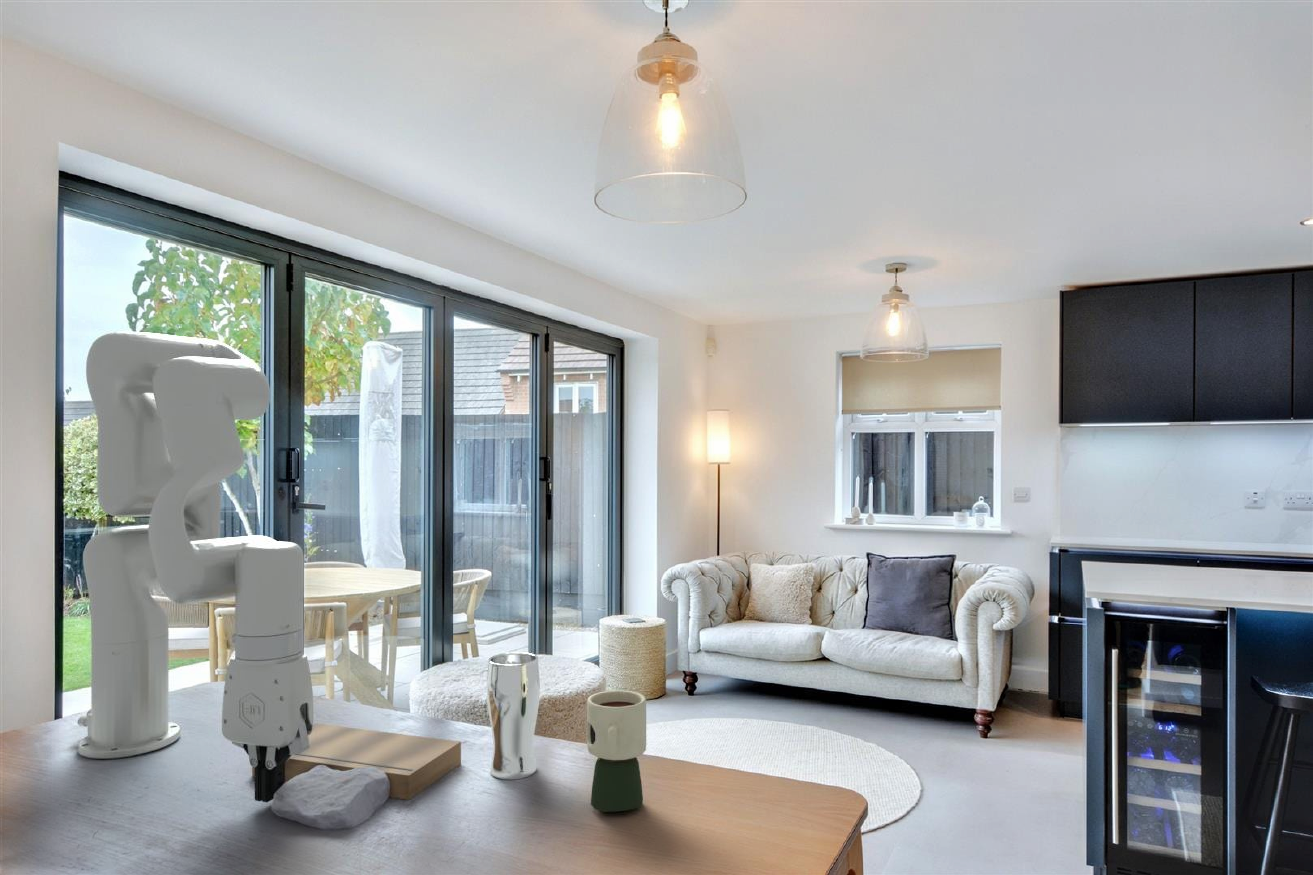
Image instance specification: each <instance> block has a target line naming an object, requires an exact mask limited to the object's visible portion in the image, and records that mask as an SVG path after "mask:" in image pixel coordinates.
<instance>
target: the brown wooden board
mask: <svg viewBox="0 0 1313 875" xmlns="http://www.w3.org/2000/svg"><path fill="white" fill-rule="evenodd" d="M308 739H309V744H310V748H309V749H308V750H306V751H304V752H302V753H300V754H294V755H291V756H290V759H289V760H288V761H287V762H285V782H288V781H289V780H290V779H292V778H294V777H295V776H297V775H300V774H302V773H306V772H308V771H310V770H311V769H313V768H314V767H316V766H319V765H325V766H327V767H329V768H330V769H332V770H339V771H348V770H352V769H354V768H357V767H358V768H365V767H375V768H377V769H378V770H381V771H384V772H385V773H386V775H387V777H388V780H389V781H390V793H389V798H393V799H394V798H395V799H399V800H400V799H401V800H407V801H409V800H411V799H412V798H414V797H415V796H417V795H419V794H420V793H421V792H422V791H424V790H426V789H427V788H428V787H430V786H431V785H432V784H434V783H436V782H437V781H438V780H440V779H441V778H442V777H444V776H445V775H447V774H448V773H450V772H451V771H452V770H454V769H455V768H457V767H459V766H460V765H461V764H462V741H460V740H459V741H457V740H453V739H452V740H451V739H444V738H443V739H442V738H437V737H436V738H435V737H427V736H421V735H420V736H419V735H410V734H404V733H403V734H402V733H394V732H387V731H379V730H371V729H363V728H355V727H349V726H348V727H346V726H338V725H331V724H325V723H324V724H323V723H313V729H312V732H311V734H310V735H308ZM278 750H279V749H278ZM251 772H252V773H251V776H252V777H255V767H252V766H251Z"/></svg>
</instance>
